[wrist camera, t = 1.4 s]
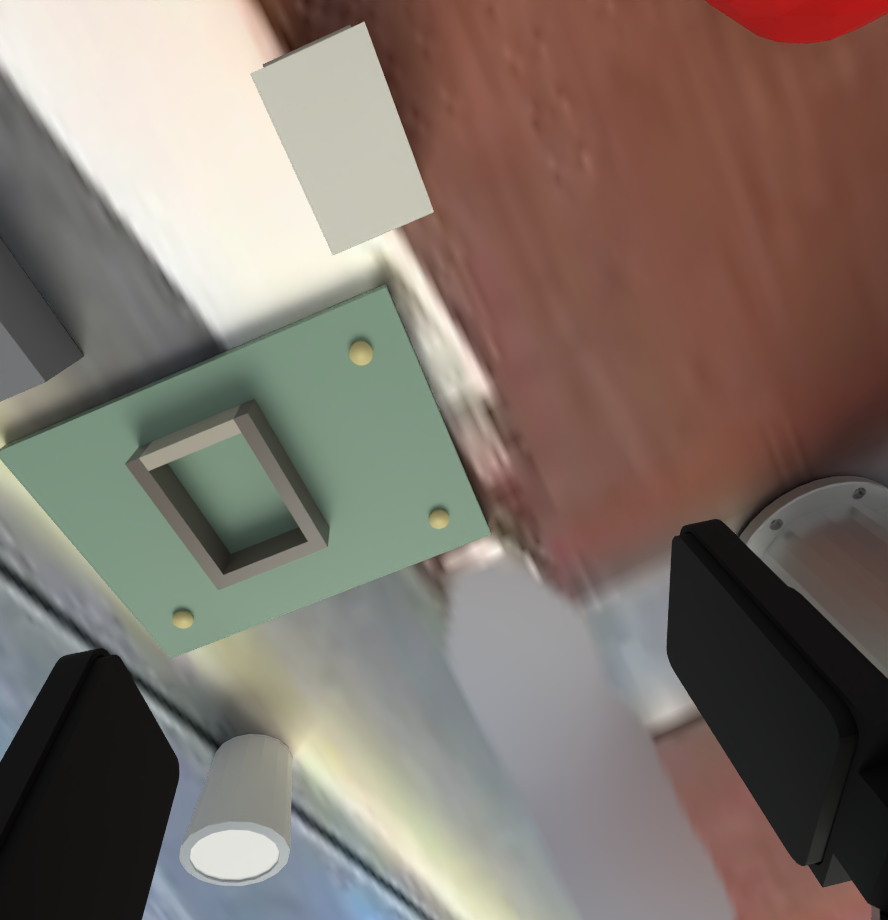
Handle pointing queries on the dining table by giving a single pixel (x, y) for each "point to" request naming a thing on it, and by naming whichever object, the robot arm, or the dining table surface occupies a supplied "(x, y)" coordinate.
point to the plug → (344, 137)
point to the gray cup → (242, 814)
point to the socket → (194, 526)
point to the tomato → (802, 17)
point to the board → (263, 473)
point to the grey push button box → (28, 333)
